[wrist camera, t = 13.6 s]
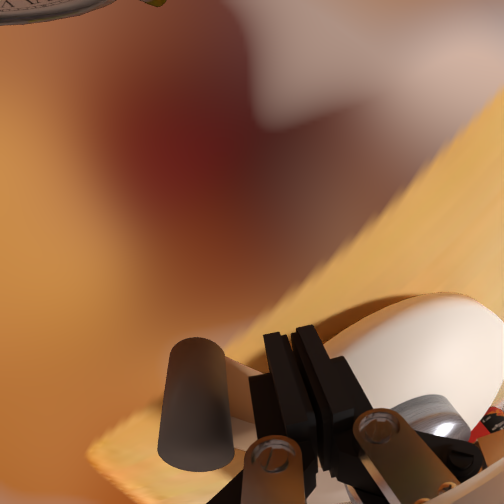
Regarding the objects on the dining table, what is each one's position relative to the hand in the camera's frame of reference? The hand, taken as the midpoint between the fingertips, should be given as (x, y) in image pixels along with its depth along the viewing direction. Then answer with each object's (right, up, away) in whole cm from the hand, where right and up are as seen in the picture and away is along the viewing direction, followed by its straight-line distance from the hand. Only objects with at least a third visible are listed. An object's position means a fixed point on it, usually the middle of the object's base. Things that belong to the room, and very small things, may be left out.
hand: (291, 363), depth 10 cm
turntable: (+6, -6, +8) cm, 12 cm away
